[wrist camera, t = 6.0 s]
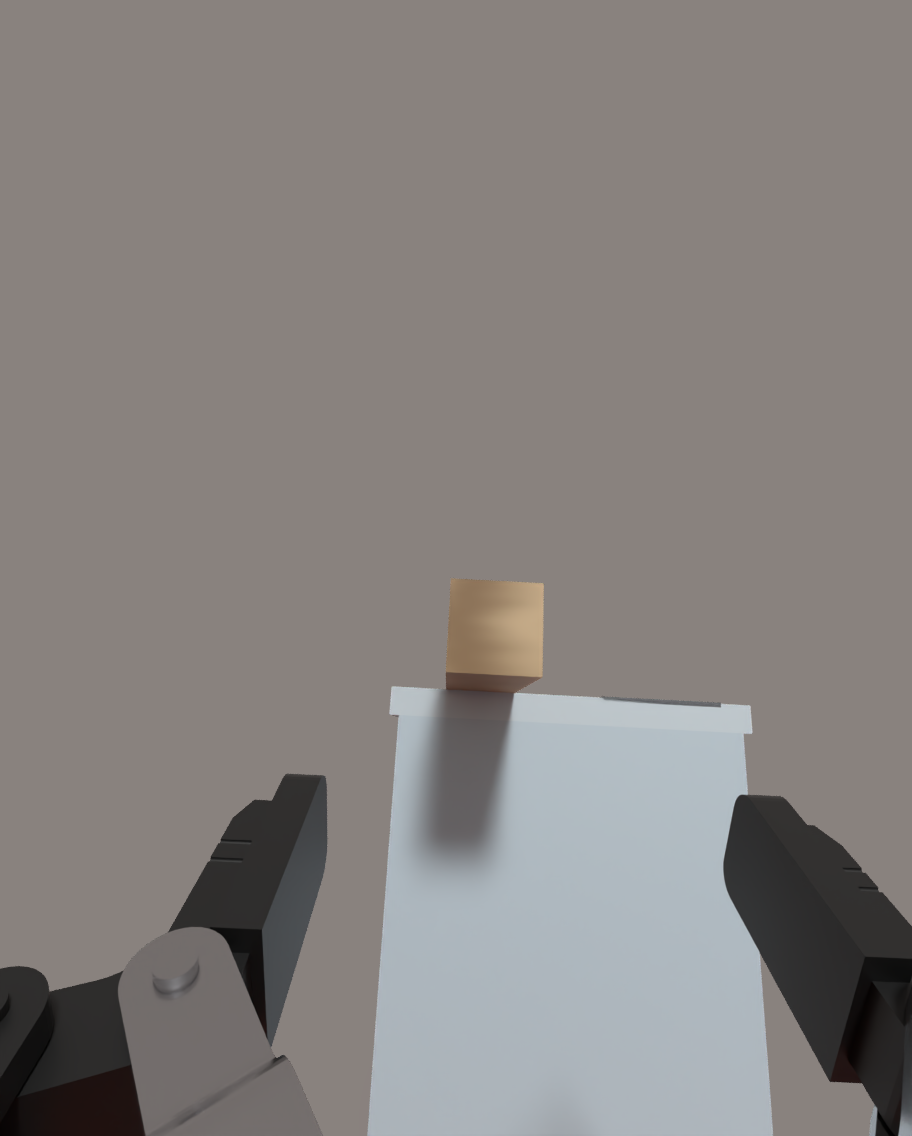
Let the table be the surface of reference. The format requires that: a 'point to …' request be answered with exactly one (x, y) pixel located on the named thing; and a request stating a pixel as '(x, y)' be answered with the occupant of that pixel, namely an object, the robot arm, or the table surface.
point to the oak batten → (494, 635)
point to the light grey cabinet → (566, 922)
